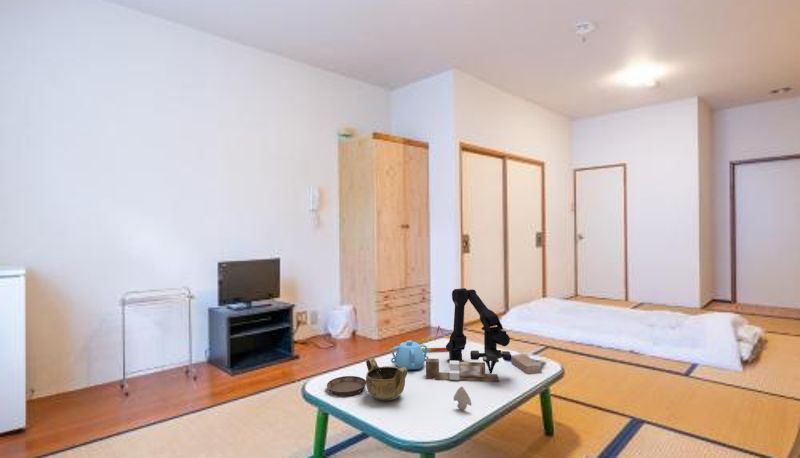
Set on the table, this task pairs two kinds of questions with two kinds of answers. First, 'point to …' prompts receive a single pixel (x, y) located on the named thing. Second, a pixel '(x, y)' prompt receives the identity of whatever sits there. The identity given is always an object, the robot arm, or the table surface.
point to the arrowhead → (462, 398)
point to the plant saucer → (346, 385)
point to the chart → (434, 348)
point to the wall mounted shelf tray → (472, 369)
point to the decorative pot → (409, 355)
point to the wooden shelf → (434, 373)
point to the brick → (526, 364)
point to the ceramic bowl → (384, 380)
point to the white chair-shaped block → (454, 370)
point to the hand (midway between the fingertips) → (490, 373)
